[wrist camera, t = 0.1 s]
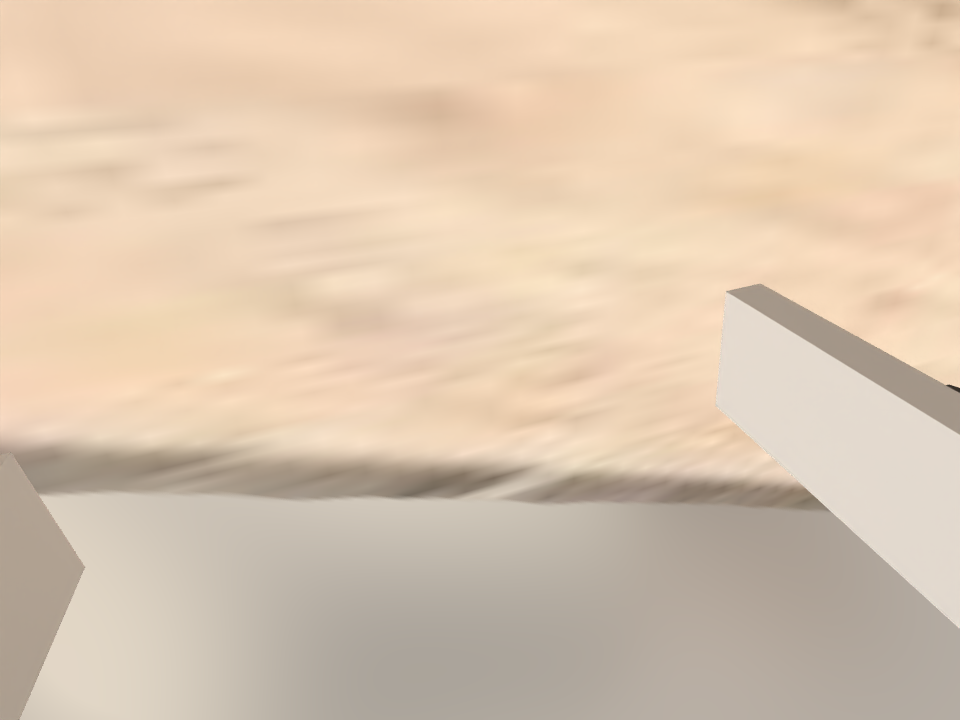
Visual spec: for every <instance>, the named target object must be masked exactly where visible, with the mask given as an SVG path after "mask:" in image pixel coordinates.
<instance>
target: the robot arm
mask: <svg viewBox="0 0 960 720" xmlns="http://www.w3.org/2000/svg"><path fill="white" fill-rule="evenodd" d="M716 407H718V408H719V409H720V410H721V411H722V412H723V413H724V414H725V415H726V416H727V417H728V418H730V419H731V420H732V421H733V422H734V423H735V424H736V425H737V426H738V427H739V428H741V429H742V430H743V431H744V432H745V433H746V434H747V435H748V436H749V437H750V438H751V439H753V440H754V441H755V442H756V443H757V444H758V445H759V446H760V447H761V448H762V449H764V450H765V451H766V452H767V453H768V454H769V455H770V456H771V457H772V458H773V459H774V460H776V461H777V462H778V463H779V464H780V465H781V466H782V467H783V468H784V469H785V470H787V471H788V472H789V473H790V474H791V475H792V476H793V477H794V478H795V479H796V480H797V481H799V482H800V483H801V484H802V485H803V486H804V487H805V488H806V489H807V490H808V491H809V492H811V493H812V494H813V495H814V496H815V497H816V498H817V499H818V500H819V501H820V502H822V503H823V504H824V505H825V506H826V507H827V508H828V509H829V510H830V511H831V512H832V513H834V514H835V515H836V516H837V517H838V518H839V519H840V520H841V521H842V522H843V523H845V524H846V525H847V526H848V527H849V528H850V529H851V530H852V531H853V532H854V533H855V534H857V535H858V536H859V537H860V538H861V539H862V540H863V541H864V542H865V543H866V544H868V545H869V546H870V547H871V548H872V549H873V550H874V551H875V552H876V553H877V554H878V555H880V556H881V557H882V558H883V559H884V560H885V561H886V562H887V563H888V564H890V565H891V566H892V567H893V568H894V569H895V570H896V571H897V572H898V573H899V574H900V575H902V576H903V577H904V578H905V579H906V580H907V581H908V582H909V583H910V584H911V585H913V586H914V587H915V588H916V589H917V590H918V591H919V592H920V593H921V594H922V595H923V596H925V597H926V598H927V599H928V600H929V601H930V602H931V603H932V604H933V605H935V607H937V608H938V609H939V610H940V611H941V612H942V613H943V614H944V615H945V616H946V617H947V618H949V619H950V620H951V621H952V622H953V623H954V624H955V625H956V626H957V627H958V628H960V388H958V387H955V386H952V385H944V384H942V383H940V382H939V381H937V380H935V379H933V378H931V377H930V376H928V375H926V374H924V373H922V372H920V371H919V370H917V369H915V368H913V367H911V366H910V365H908V364H906V363H904V362H902V361H900V360H899V359H897V358H895V357H893V356H891V355H890V354H888V353H886V352H884V351H882V350H880V349H879V348H877V347H875V346H873V345H871V344H869V343H868V342H866V341H864V340H862V339H860V338H859V337H857V336H855V335H853V334H851V333H849V332H848V331H846V330H844V329H842V328H840V327H839V326H837V325H835V324H833V323H831V322H829V321H828V320H826V319H824V318H822V317H820V316H818V315H817V314H815V313H813V312H811V311H809V310H808V309H806V308H804V307H802V306H800V305H798V304H797V303H795V302H793V301H791V300H789V299H788V298H786V297H784V296H782V295H780V294H778V293H777V292H775V291H773V290H771V289H769V288H767V287H766V286H764V285H762V284H757V285H752V286H748V287H743V288H739V289H735V290H730V291H726V297H725V308H724V319H723V330H722V341H721V352H720V363H719V374H718V385H717V396H716ZM84 568H85V566H84V565H83V563H82V562H81V560H80V559H79V557H78V556H77V554H76V552H75V551H74V549H73V548H72V546H71V545H70V543H69V542H68V540H67V538H66V537H65V535H64V534H63V532H62V531H61V529H60V528H59V526H58V525H57V523H56V522H55V520H54V518H53V517H52V515H51V514H50V512H49V511H48V509H47V507H46V506H45V504H44V503H43V501H42V500H41V498H40V497H39V495H38V494H37V492H36V490H35V489H34V487H33V486H32V484H31V483H30V481H29V480H28V478H27V477H26V475H25V473H24V472H23V470H22V469H21V467H20V466H19V464H18V463H17V461H16V459H15V458H14V456H13V455H12V453H11V452H10V453H5V454H1V455H0V720H19V719H20V717H21V715H22V712H23V710H24V708H25V705H26V703H27V701H28V698H29V696H30V694H31V691H32V689H33V687H34V684H35V682H36V680H37V677H38V675H39V673H40V670H41V668H42V666H43V664H44V661H45V659H46V656H47V654H48V652H49V649H50V647H51V645H52V643H53V640H54V638H55V635H56V633H57V631H58V629H59V626H60V624H61V622H62V619H63V617H64V615H65V612H66V610H67V608H68V605H69V603H70V601H71V598H72V596H73V594H74V591H75V589H76V587H77V584H78V582H79V580H80V578H81V575H82V573H83V570H84Z"/></svg>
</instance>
